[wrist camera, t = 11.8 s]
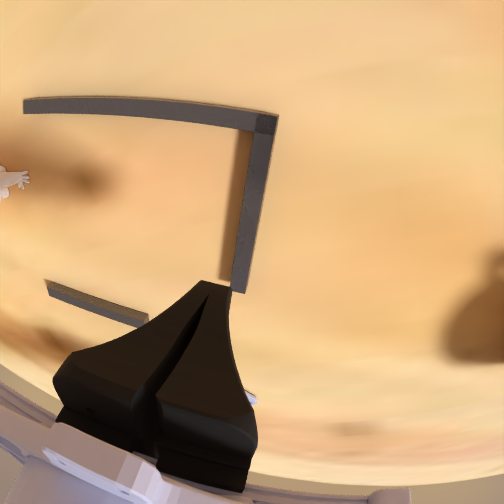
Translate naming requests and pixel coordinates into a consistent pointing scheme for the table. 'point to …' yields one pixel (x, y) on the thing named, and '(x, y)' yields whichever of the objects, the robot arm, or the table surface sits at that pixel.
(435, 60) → the table surface
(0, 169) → the white figurine
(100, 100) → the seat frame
